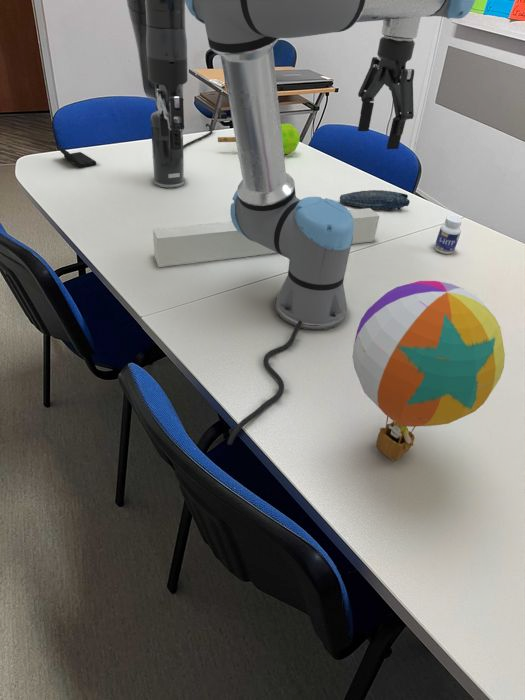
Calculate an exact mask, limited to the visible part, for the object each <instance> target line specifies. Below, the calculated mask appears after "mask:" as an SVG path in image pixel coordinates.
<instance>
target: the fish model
mask: <svg viewBox="0 0 525 700" xmlns="http://www.w3.org/2000/svg"><path fill="white" fill-rule="evenodd" d="M410 202H411V201H410V200H409V195H408V194H406V193H403V192H402V193H401V192H399V191H392V190H382V189H380V190H379V189H377V190H376V189H368V190H360V191H352V192H348V193H344V194H341V195H340V196H339V203H340V204H342V203H343V204H346V205H349V206H351V207H357V208H360V209H366V208H371V209H372V210H373V209H374V210H384V211H385V210H386V211H391V210H394V209H397V210H402V208H404V207H408V206H409V205H410Z"/></svg>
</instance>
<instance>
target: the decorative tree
mask: <svg viewBox="0 0 525 700" xmlns="http://www.w3.org/2000/svg"><path fill="white" fill-rule="evenodd" d="M281 132H282V141H283V151H284V155H289V154H291V153H293V152H295V151H296V150H297V148H298V145H299V143H300V140H301V138H300V137H301V136H300V132H299V131H298V129H297V128H296V127H295V126H294V125H292V123H281ZM217 143H236V139H235V136H218V137H217Z"/></svg>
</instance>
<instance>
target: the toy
mask: <svg viewBox="0 0 525 700" xmlns="http://www.w3.org/2000/svg"><path fill="white" fill-rule="evenodd" d="M356 329H357V330H356V333H355V338H354V343H353V348H352V363H353V368H354V371H355V373H356V375H357V378H358V380H359V383H360V386H361V388H362V390H363V392H364V394H365V395H366V396H367V397H368V398H369V399H370V401H371V402H373V403H374V405H375V406H376V407H377V408H378V409H379V410H380V411H381V412H382V413H383V414H384V415H385V416H386V422H385V427H380V428H379V432H378V434H377V438H376V442H375V444H376V448H377V449H378V451H380V453H382V454H383V455H385V456H386V457H387V459H390V461H392V462H396V461H398V460H399V459H400V458H401V457H403V456H404V455H405V454H407V452H409V451H410V449H411V447H413V446H414V445H415V444H414V442H415V439H416V436H415V434H414V433H413V432H414V430H415V429H416V427H417V428H418V427H433V426H443V425H448V424H451V423H453V422H455V421H458V420H460V419H462V418H465V417H467V416H469V415H471V414H472V413H474V412H477V411H478V410H479V409H480V408H481V407H482V406H483V405H484V404H485V403H486V401H487V400H488V398H489V397H490V395H491V393H492V392H493V390H494V389H495V388H496V386H497V384H498V382H499V381H500V380H501V378H502V375H503V371H504V369H505V360H506V359H505V358H506V353H505V347H504V341H503V335H502V329H501V326H500V324H499V321H498V320H497V318H496V316H495V315H494V314H493V312H492V311H491V310H490V309H489V308H488V306H487V305H486V304H485V303H484V302H483V301H482V299H481V298H480V297H478V296H476V295H475V294H473V293H472V292H470V291H469V290H467V289H465V288H463V287H460V286H457V285H455V284H453V283H449V282H444V281H440V280H439V281H438V280H417V281H414V282H410V283H407V284H402V285H399V286H396V287H394V288H392V289H391V290H389V291H387V292H386V293H384V294H383V295H382V296H381V297H380V298H378V299H377V300H376V301H375V302H374V303H373V304H372V305H371V306H369V308H367V310H366V311H365V313H364V314H363V316H362V317H361V318H360V320H359V324H358V327H357V328H356ZM389 419H390V420H391V421H392V422H391V423H388V422H389V421H388V420H389ZM408 427H411V428H412V427H413V428H412V430H411V431H410V430H409V428H408Z"/></svg>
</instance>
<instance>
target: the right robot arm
mask: <svg viewBox="0 0 525 700" xmlns="http://www.w3.org/2000/svg"><path fill="white" fill-rule="evenodd" d="M475 2H476V0H185V6H186V7H187V9H188V11H189V13H190V14H191V15H192V16H193V17H194V18H195V19H196V20H197V21H198V22H200V23H202V24H204V26H205V32H206V37H207V42H208V47H209V49H210V50H211V51H212V52H213V53H214V54H216V55H218V56H219V57H220V60H221V66H222V71H223V76H224V77H223V78H224V83H225V89H226V95H227V99H228V105H229V111H230V115H231V122H232V128H233V134H234V137H235V139H236V142H235V144H236V149H237V154H238V160H239V167H240V172H241V177H242V180H241V181H240V182H239V184H238V185H237V189H236V191H235V192H234V194H233V197H232V200H233V203H231V204H230V219H231V221H232V222H233V225H234V227H235V228H236V229H237V231H238V232H239V233H241V234H242V235H244V236H245V237H246V238H248V239H249V240H251V241H254V242H256V243H258V244H260V245H262V246H265V247H267V248H269V249H271V250H273V251H275V252H277V253H276V254H279V255H281V256H282V257H284V258H287V259H288V261H289V262H288V263H289V264H288V270H287V271H288V272H287V275H286V278H285V279H284V282H283V283H282V285H281V287H280V290H279V291H278V294H277V296H276V300H275V311H276V313H277V315H278V316H279V317H280V318H281V319H282V320H283V321H284V322H286V323H287V324H289V325H291V326H293V327H294V329H293V331H292V332H291V335H290V338H289V339H288V341H287V342H286V343H284V344H283V345H281V346H278V347H276V348H273V349H271V350H269V351H268V352H267V353H265V355H264V357H263V365H264V367H265V370H267V371H268V373H270V375H272V377H273V378H274V379H275V380H276V381H277V383H278V390H277V392H276V393H275V394H274V395H273V396H272V397H271V398H269V399H267V400H266V401H264V402H263V403H262V404H261V405H260V406H259V407H258V408H256V410H254V411H253V412H252V413H250V414H249V415H247V416H246V417H244V418H243V419H242V420H241V421H240V422H238V424H237V425H236V426H235V427H234V429H233V430H232V432H231V433H230V435H229V437H228V439H227V442H226V444H227V445H228V446H231V445H232V444H233V443H234V441H235V439H236V438H237V436H238V434H239V433H240V431H241V430H242V428H244V427H245V425H247V424H248V423H250V422H251V421H252V420H254V419H255V418H256V417H257V416H259V415H261V413H262V412H263V411H265V410H266V409H267V408H268V407H269V406H271V405H272V404H274V403H275V402H276V401H278V400H279V399H280V398H281V396H282V395H283V393H284V390H285V384H284V380H283V379H282V377H281V376H280V375H279V373H277V371H276V370H274V368H272V366H271V365H270V363H269V359H270V357H271V356H273V355H275V354H277V353H280V352H282V351H284V350H286V349H288V348H289V347H290V346H291V345H292V344H293V343H294V341H295V339H296V336H297V334H298V333H299V331H300V329H304V330H310V331H324V330H325V331H326V330H329V329H333V328H336V327H337V326H339V325H340V324H342V323H343V322H344V320H345V318H346V315H347V310H348V309H347V308H348V307H347V306H348V305H347V297H346V292H345V286H344V280H345V275H346V271H347V267H348V262H349V257H350V253H351V252H350V251H351V247H352V245H353V244H352V241H353V230H354V220H353V216H352V215H351V213H350V212H349V210H350V209H348V208H347V207H345V206H344V205H343V204H342V203H341V202H338V201H336V200H333V199H330V198H327V197H326V198H322V197H321V196H307V197H304V198H301V199H300V198H297V193H296V185H295V180H294V178H293V177H292V175H290V174H289V173H287V171H286V162H285V161H286V160H285V154H284V151H283V141H282V132H281V124H282V123H281V114H280V113H281V112H280V105H279V104H280V103H279V95H278V87H277V85H278V84H277V75H276V66H275V56H274V46H276V44H277V42H279V39H297V38H303V37H304V38H305V37H310V36H319V35H326V34H332V33H341V32H344V31H347V30H349V29H351V28H352V27H353V26H354V25H355V24H357V23H367V22H379V21H383V22H382V28H381V35H382V36H381V38H379V43H378V48H377V52H376V53H377V54H376V55H377V56H373V57H372V58H371V61H370V62H371V63H370V66H369V68H368V71H367V74H366V75H365V78H364V79H363V81H362V84H361V86H360V88H359V90H358V94H357V95H358V97H359V98H360V100H361V108H360V115H359V122H358V127H357V131H358V132H369V131H370V125H371V121H372V115H373V111H374V105H375V103H374V101H375V98H376V96H377V95H378V94H379V92H380V91H381V90H382V88H383V87H384V86H385V87H388V90H389V91H390V92H391V97H392V98H391V99H392V103H393V108H394V115H395V116H394V117H393V118H392V122H391V125H390V131H389V135H388V139H387V145H386V149H387V150H399V146H400V142H401V138H402V135H403V133H404V129H405V125H406V121H407V120H413V119H414V116H415V115H414V113H415V112H414V111H415V109H414V77H415V69H414V68H406V67H407V62H409V61H410V60H412V58H413V53H414V48H415V46H416V45H415V44H416V42H415V40H414V39H416V38H417V37H418V32H419V28H420V23H421V18H423V17H426V18H427V17H429V18H430V17H441V18H446V19H448V20H450V19H456V20H457V19H458V20H460V19H464V18H465V17H467V15H468V14H469V13H470V12H471V11H472V8H473V7H474V5H475Z"/></svg>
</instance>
